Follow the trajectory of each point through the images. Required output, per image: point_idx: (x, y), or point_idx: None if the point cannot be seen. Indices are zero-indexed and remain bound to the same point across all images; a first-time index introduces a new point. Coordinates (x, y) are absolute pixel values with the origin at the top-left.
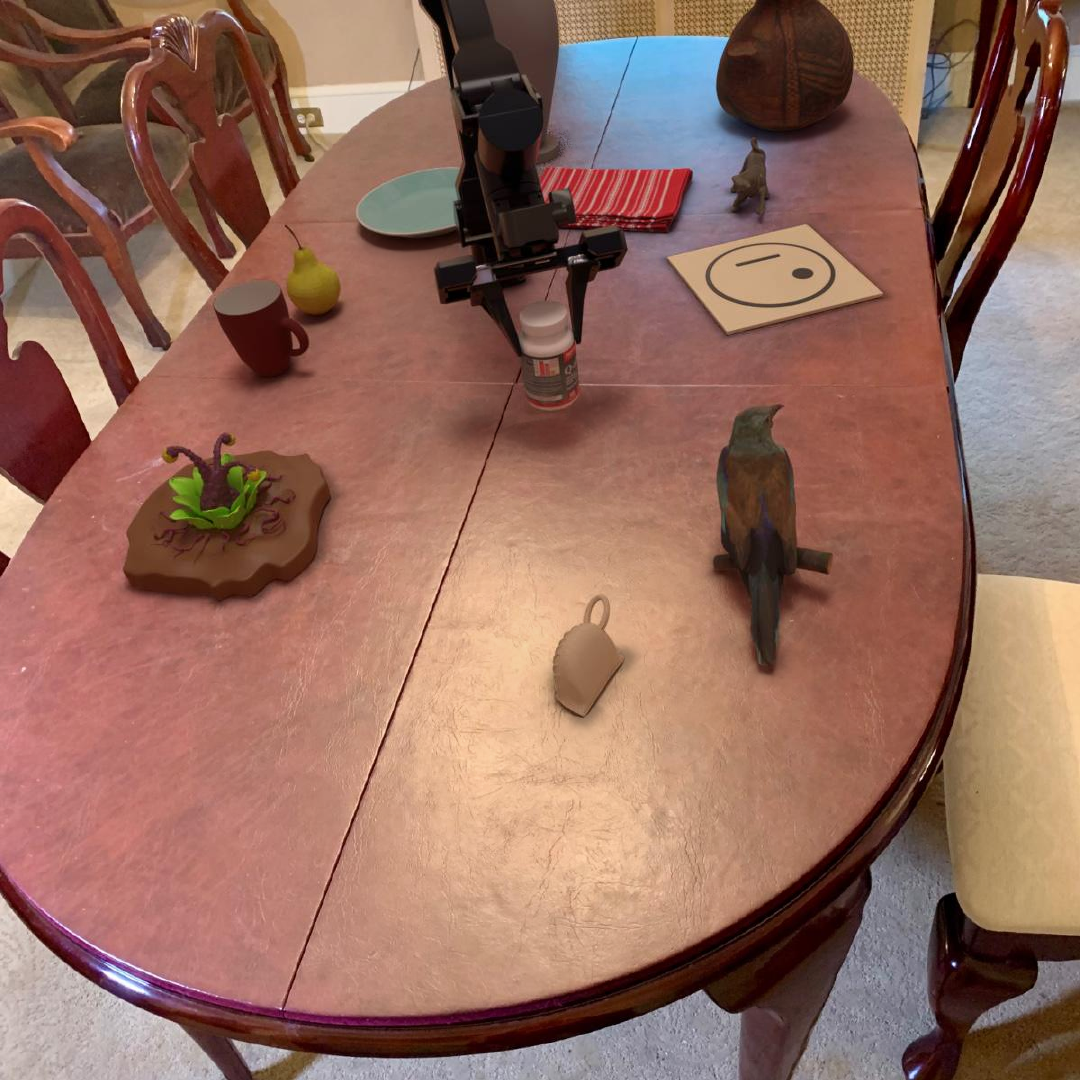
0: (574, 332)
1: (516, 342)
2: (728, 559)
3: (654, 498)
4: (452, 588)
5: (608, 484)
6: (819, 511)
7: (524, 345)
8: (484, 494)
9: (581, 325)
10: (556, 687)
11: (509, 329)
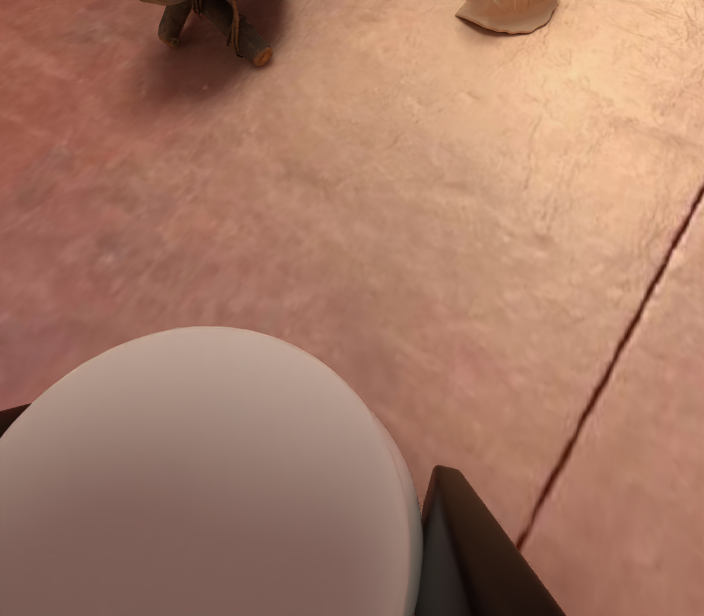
0: None
1: (463, 502)
2: (252, 26)
3: (249, 214)
4: (669, 201)
5: (301, 287)
6: (61, 80)
7: (407, 492)
8: (563, 400)
9: (15, 409)
10: (554, 5)
11: (511, 583)
